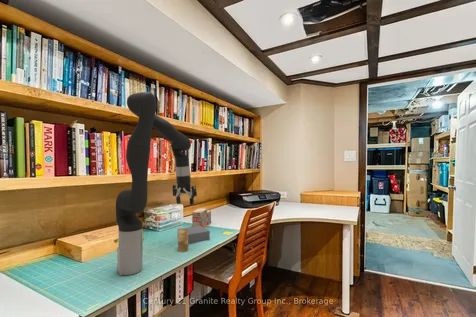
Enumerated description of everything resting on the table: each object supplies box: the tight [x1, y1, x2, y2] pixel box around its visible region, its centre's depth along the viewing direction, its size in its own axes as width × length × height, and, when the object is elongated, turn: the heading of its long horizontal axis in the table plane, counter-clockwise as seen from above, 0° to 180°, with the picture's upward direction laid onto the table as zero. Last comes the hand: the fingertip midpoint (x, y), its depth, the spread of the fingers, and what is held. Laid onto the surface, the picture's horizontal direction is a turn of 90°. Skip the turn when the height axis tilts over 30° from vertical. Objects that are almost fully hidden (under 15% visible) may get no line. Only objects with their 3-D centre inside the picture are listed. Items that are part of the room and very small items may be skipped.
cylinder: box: [177, 228, 189, 253], centre depth 126 cm, size 5×5×10 cm
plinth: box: [176, 226, 211, 245], centre depth 144 cm, size 14×14×5 cm
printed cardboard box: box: [191, 207, 212, 229], centre depth 170 cm, size 21×6×12 cm, turn 169°
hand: (185, 204), depth 134 cm, fingers open, 8 cm apart
